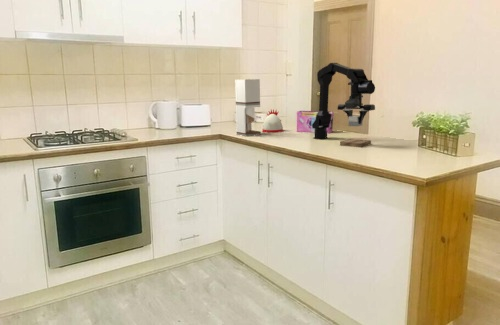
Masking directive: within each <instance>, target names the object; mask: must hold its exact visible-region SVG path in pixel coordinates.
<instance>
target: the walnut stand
mask: <svg viewBox="0 0 500 325" xmlns="http://www.w3.org/2000/svg"><path fill="white" fill-rule="evenodd" d="M371 144H372V140H370V139H360V138H359V139H357V138H348V139H345V140H341V141H339V146H341V147H342V146H343V147H344V146H345V147H354V148H364V147H366V146H369V145H371Z"/></svg>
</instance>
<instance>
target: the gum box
mask: <svg viewBox="0 0 500 325" xmlns="http://www.w3.org/2000/svg"><path fill="white" fill-rule="evenodd" d="M318 111H319V110H299V111H296V132H297V133H313V134H315V128H313V127H312V124H313V123H314V121H315V120H316V115H317V113H318ZM328 112H329V114H331V121H330V125H329V128H327V134H330V133H333V132H334V131H333V130H334V129H333V125H334V123H333V122H334V111H332V110H330V111H329V110H328Z"/></svg>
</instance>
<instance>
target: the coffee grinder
mask: <svg viewBox="0 0 500 325" xmlns="http://www.w3.org/2000/svg"><path fill="white" fill-rule="evenodd" d="M234 87H235V89H234V90H235V120H236V125H235V126H236V127H235V129H236V136H240V135H242V136H241V137H246V136H247V137H253V136H254V135H255V136H260V135H261V134H262V133H261V131H259V130H253V129H252V127H253V126H252V123H254V122H255V117H256V116H255V114H256V113H255V108H260V107H261V79H260V78H257V79H256V78H255V79H254V78H252V79H250V78H247V79H244V78H243V79H242V78H241V79H234Z"/></svg>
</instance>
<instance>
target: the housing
mask: <svg viewBox="0 0 500 325" xmlns="http://www.w3.org/2000/svg"><path fill="white" fill-rule="evenodd" d="M359 120H360V115H352V116H349V119H348V124H347V126H348V127H361V126H363V122H362V123H361V124H360V123H359Z"/></svg>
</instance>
